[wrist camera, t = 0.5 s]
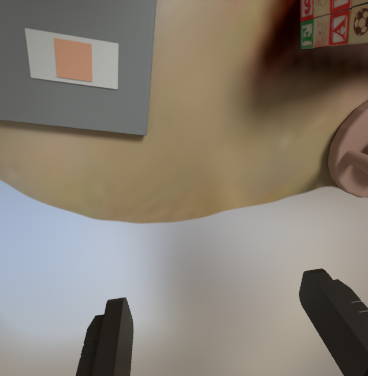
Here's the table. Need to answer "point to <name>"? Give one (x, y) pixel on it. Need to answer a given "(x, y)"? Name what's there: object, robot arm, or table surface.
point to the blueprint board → (77, 63)
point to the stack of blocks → (333, 22)
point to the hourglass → (351, 154)
